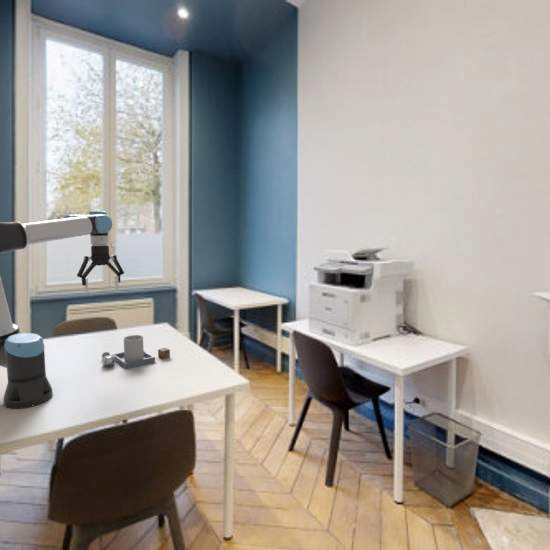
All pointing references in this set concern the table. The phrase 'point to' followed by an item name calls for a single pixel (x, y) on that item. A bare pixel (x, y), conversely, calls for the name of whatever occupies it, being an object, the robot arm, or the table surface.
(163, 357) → the walnut block
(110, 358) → the chrome bearing sphere
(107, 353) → the rubber ball
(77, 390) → the table surface
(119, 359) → the tray
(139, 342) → the mug
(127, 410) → the table surface
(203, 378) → the table surface
